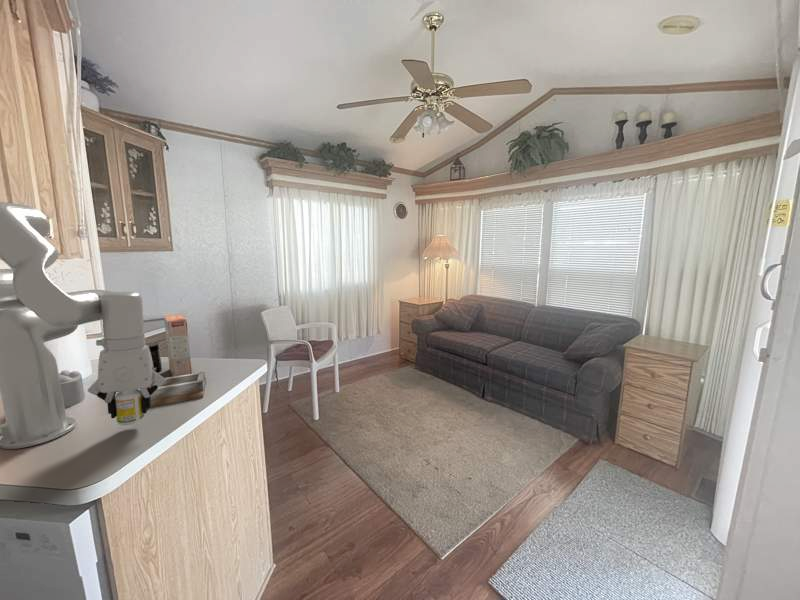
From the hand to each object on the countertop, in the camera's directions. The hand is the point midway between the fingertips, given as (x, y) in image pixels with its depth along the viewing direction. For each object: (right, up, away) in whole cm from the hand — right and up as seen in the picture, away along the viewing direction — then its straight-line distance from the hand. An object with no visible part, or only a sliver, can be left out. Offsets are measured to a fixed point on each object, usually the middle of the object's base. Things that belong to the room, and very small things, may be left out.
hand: (130, 412), depth 82 cm
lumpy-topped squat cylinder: (-35, -3, +17) cm, 39 cm away
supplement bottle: (0, -2, 0) cm, 2 cm away
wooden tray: (-4, -1, +20) cm, 21 cm away
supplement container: (-26, +1, +40) cm, 48 cm away
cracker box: (-14, +1, +40) cm, 42 cm away
